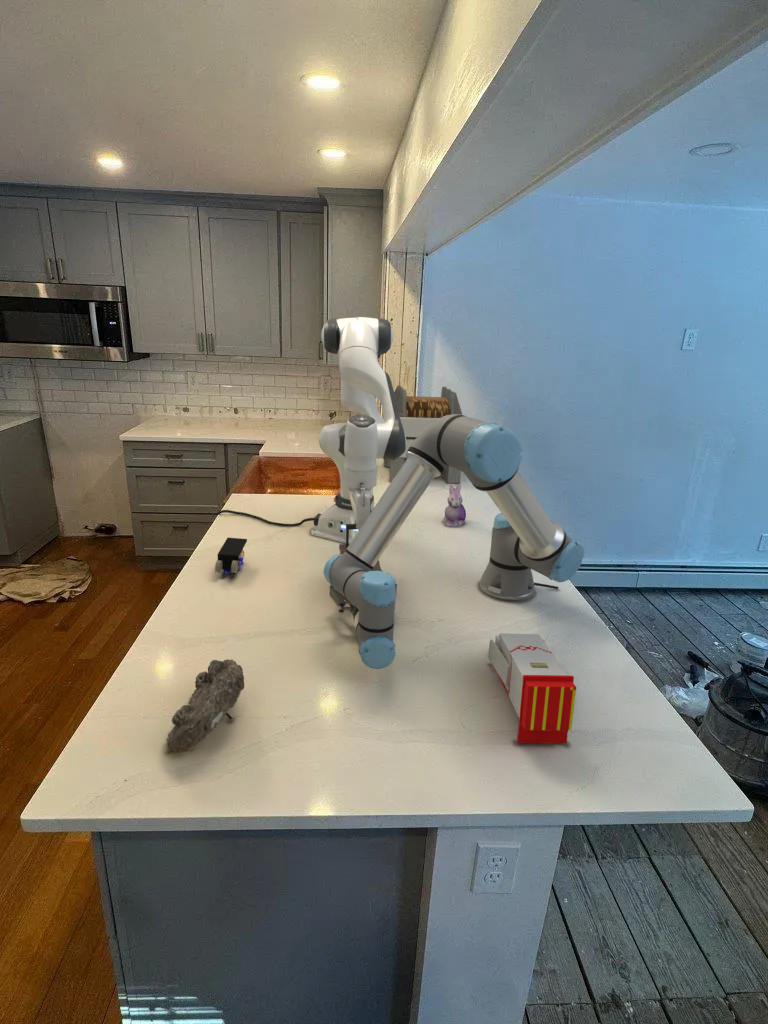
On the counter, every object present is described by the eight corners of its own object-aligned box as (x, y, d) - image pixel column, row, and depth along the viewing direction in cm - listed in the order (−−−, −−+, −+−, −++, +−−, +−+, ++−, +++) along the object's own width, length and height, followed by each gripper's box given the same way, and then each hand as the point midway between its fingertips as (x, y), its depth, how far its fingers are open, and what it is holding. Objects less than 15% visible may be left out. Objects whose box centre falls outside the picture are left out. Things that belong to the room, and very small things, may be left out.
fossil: (192, 660, 117) (244, 628, 112) (224, 691, 120) (276, 661, 115) (142, 746, 98) (202, 712, 93) (182, 779, 101) (242, 748, 96)
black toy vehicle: (238, 584, 162) (249, 557, 175) (236, 562, 158) (247, 536, 172) (215, 584, 161) (227, 556, 175) (212, 561, 158) (225, 535, 171)
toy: (536, 617, 130) (585, 683, 100) (531, 671, 132) (578, 750, 103) (483, 616, 129) (518, 682, 100) (479, 670, 132) (511, 749, 103)
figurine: (451, 529, 206) (455, 489, 201) (436, 519, 214) (439, 481, 209) (472, 525, 210) (476, 487, 205) (457, 516, 219) (460, 479, 214)
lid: (339, 548, 160) (339, 519, 157) (374, 547, 162) (375, 519, 158) (343, 574, 147) (343, 544, 143) (381, 573, 148) (382, 543, 145)
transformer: (382, 463, 289) (386, 382, 275) (445, 464, 293) (451, 384, 279) (390, 482, 257) (394, 392, 243) (460, 483, 261) (468, 394, 247)
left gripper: (376, 490, 141) (374, 541, 146) (367, 467, 160) (365, 513, 165) (351, 490, 140) (350, 541, 145) (345, 467, 159) (344, 513, 164)
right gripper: (321, 634, 131) (318, 589, 152) (416, 631, 134) (400, 587, 155) (321, 606, 129) (318, 564, 149) (418, 603, 132) (402, 562, 153)
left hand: (358, 526), depth 155 cm, fingers closed on lid, 2 cm apart
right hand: (360, 576), depth 152 cm, fingers closed on chest, 10 cm apart
